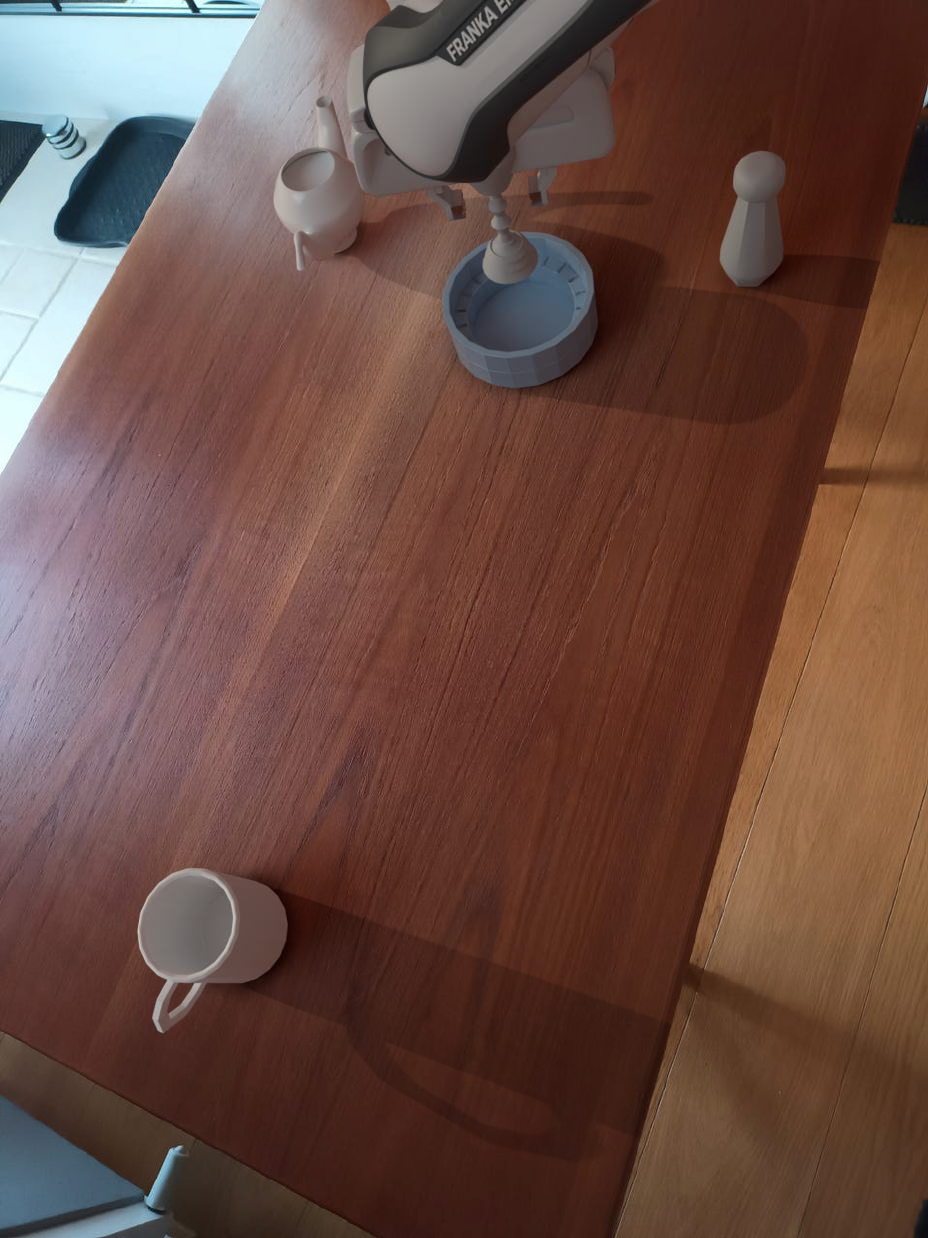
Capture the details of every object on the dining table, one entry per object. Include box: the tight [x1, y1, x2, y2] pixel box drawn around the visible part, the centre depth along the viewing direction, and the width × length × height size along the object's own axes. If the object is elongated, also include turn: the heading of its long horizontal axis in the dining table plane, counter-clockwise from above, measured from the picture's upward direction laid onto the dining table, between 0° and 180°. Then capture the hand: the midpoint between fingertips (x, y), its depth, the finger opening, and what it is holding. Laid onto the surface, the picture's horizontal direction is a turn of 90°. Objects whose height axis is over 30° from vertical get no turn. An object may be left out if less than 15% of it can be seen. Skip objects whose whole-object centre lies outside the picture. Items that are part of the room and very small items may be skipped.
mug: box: [137, 867, 289, 1034], centre depth 74 cm, size 8×12×10 cm
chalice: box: [468, 144, 538, 284], centre depth 78 cm, size 7×7×18 cm
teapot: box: [272, 95, 366, 272], centre depth 100 cm, size 10×20×9 cm, turn 173°
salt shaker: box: [719, 150, 787, 288], centre depth 86 cm, size 6×6×13 cm
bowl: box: [441, 230, 599, 389], centre depth 92 cm, size 14×14×6 cm
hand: (497, 207), depth 80 cm, fingers closed on chalice, 5 cm apart
